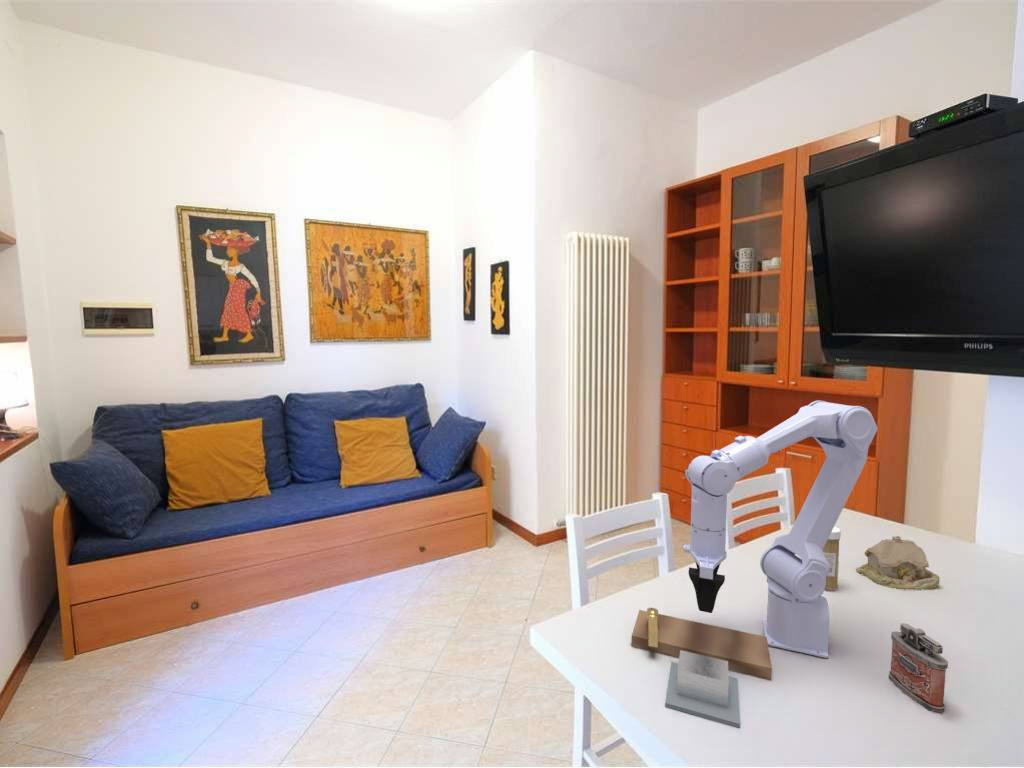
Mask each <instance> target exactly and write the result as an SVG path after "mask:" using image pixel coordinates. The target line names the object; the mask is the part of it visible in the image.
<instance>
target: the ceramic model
mask: <svg viewBox="0 0 1024 768" xmlns="http://www.w3.org/2000/svg"><path fill="white" fill-rule="evenodd" d="M863 554H864V556H865V557H867V563H866V564H865V563H864V564H862V565H861V566H859V567H856V570H855V571H856V572H857V573H858V574H860V573H861V574H860V575H862V574H863V575H862V576H864V577H865V576H866V578H867V577H868V578H867V579H869V580H870V581H871V580H872V581H871V582H873V583H875V584H877V585H879V584H880V585H879V586H883V587H886V588H890V589H894V588H896V589H895V590H899V589H904V590H903V591H907V590H906V589H914V590H913V591H922V590H921V589H930V590H934V589H933V588H935V589H936V588H937V587H938V586H939V584H940V580H941V579H940V576H939V575H938V574H935V572H933V571H931V570H928V569H927V568H930V566H929V562H928V559H927V555H926V552H925V551H924V550H923V548H922V547H920V546H918V545H917V544H916V542H914V541H913V540H910V539H908V540H907V539H902V537H901V536H897V535H896V536H894V535H893V536H892V537H891V539H881V540H880V541H879V542H878V543H876V544H873V546H871V547H868V548H867V549H866V550H865V551H864V553H863ZM915 589H917V590H915ZM918 589H920V590H918Z"/></svg>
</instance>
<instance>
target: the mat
mask: <svg viewBox="0 0 1024 768" xmlns="http://www.w3.org/2000/svg"><path fill="white" fill-rule="evenodd" d="M678 664H679V662H678V663H677V662H673V661H671V663H670V669H669V670H670V671H669V675H668V676H669V677H668V682H667V689H666V690H667V691H666V695H665V701H664V706H665V708H669V709H672V710H676V711H678V712H684V713H685V714H686V713H687V714H689V715H693V716H696V717H701V718H704V719H707V720H711V721H714V722H716V723H717V722H718V723H722V724H725V725H727V726H730V727H731V726H732V727H735V728H739V729H740V727H741V726H740V725H741V721H740V717H741V716H740V703H739V701H740V700H739V686H738V685H739V684H738V682H739V681H738V677H734V676H730V675H728V678H729V686H728V708H726V707H722V706H718V705H715V704H711V703H707V702H704V701H700V700H696V699H693V698H689V697H685V696H681V695H678V694H677V683H678Z"/></svg>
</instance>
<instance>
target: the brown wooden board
mask: <svg viewBox="0 0 1024 768" xmlns="http://www.w3.org/2000/svg"><path fill="white" fill-rule="evenodd" d="M631 633H632V634H631V647H633V648H637V649H641V650H645V651H650V652H654V653H657V654H662V655H666V656H669V657H675V658H678V659H679V656H680V650H682V651H687V652H691V653H695V654H699V655H704V656H708V657H712V658H716V659H721V660H725V661H728V671H732V672H736V673H740V674H744V675H747V676H748V675H749V676H752V677H756V678H761V679H764V680H769V681H772V673H773V672H772V671H773V670H772V668H773V667H772V663H771V662H772V660H771V655H770V649H769V645H768V642H767V637H765V635H761V634H755V633H751V632H746V631H741V630H736V629H731V628H728V627H723V626H722V627H721V626H718V625H717V626H716V625H712V624H708V623H703V622H700V621H699V622H698V621H694V620H689V619H683V618H680V617H675V616H671V615H670V616H669V615H665V614H661V613H658V647H651V646H648V626H647V610H641V609H639V610H638V614H637V617H636V620H635V623H634V627H633V630H632V632H631Z"/></svg>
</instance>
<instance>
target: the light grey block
mask: <svg viewBox="0 0 1024 768" xmlns="http://www.w3.org/2000/svg"><path fill="white" fill-rule="evenodd" d="M728 676H729V670H728V661H725V660H721V659H716V658H712V657H708V656H704V655H699V654H695V653H691V652H687V651H682V650H680V656H679V658H678V683H677V694H678V695H681V696H685V697H689V698H693V699H696V700H700V701H704V702H707V703H711V704H715V705H718V706H722V707H726V708H728V686H729V678H728Z"/></svg>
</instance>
